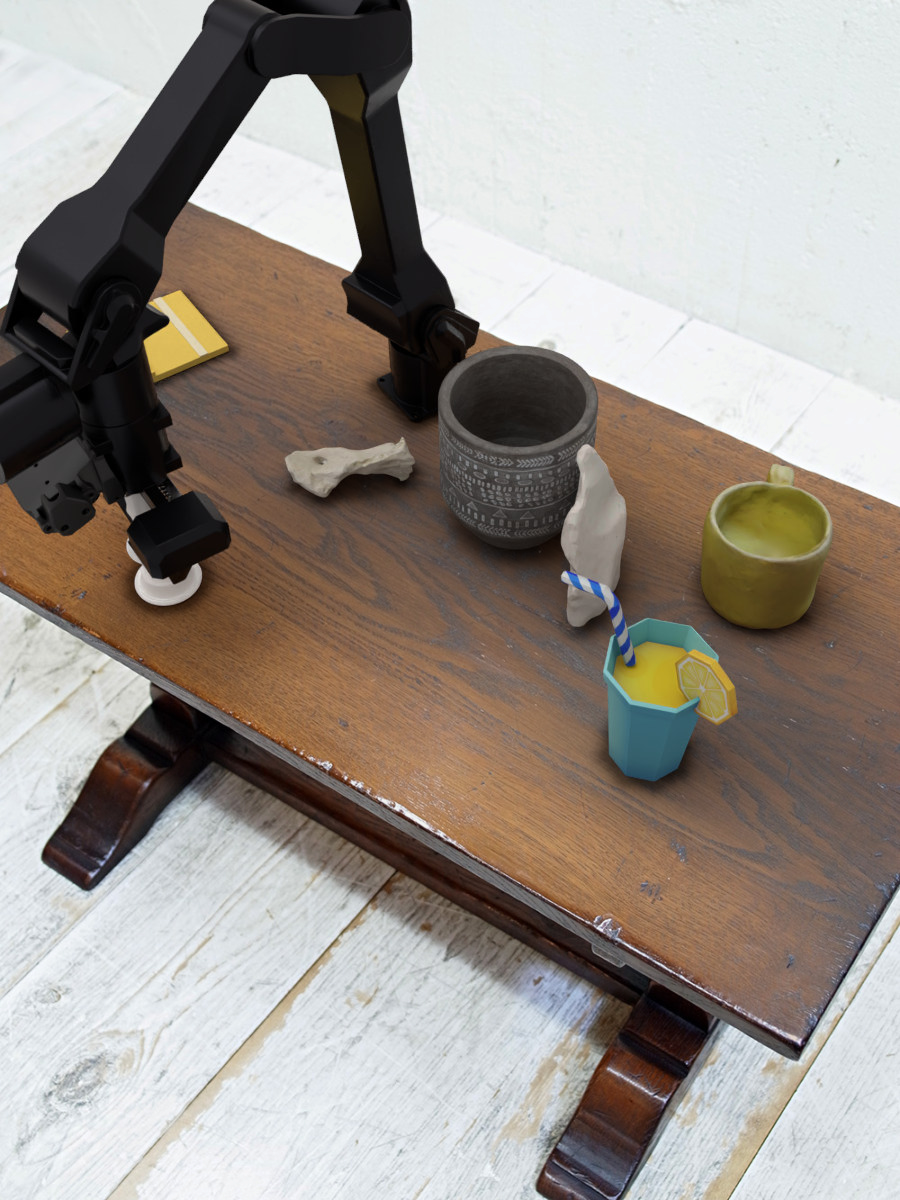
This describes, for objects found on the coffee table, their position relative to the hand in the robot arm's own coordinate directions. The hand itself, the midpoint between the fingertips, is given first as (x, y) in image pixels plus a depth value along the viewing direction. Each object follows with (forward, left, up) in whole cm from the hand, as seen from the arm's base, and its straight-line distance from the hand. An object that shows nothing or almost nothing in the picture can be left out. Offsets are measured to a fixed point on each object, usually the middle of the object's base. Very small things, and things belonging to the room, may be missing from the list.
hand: (157, 550), depth 100 cm
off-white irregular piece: (+1, -18, -4) cm, 19 cm away
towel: (+27, -11, -4) cm, 29 cm away
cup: (-33, -21, -4) cm, 39 cm away
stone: (-21, -28, -4) cm, 35 cm away
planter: (-10, -27, -4) cm, 29 cm away
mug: (-26, -39, -4) cm, 47 cm away
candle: (0, 0, -4) cm, 4 cm away
